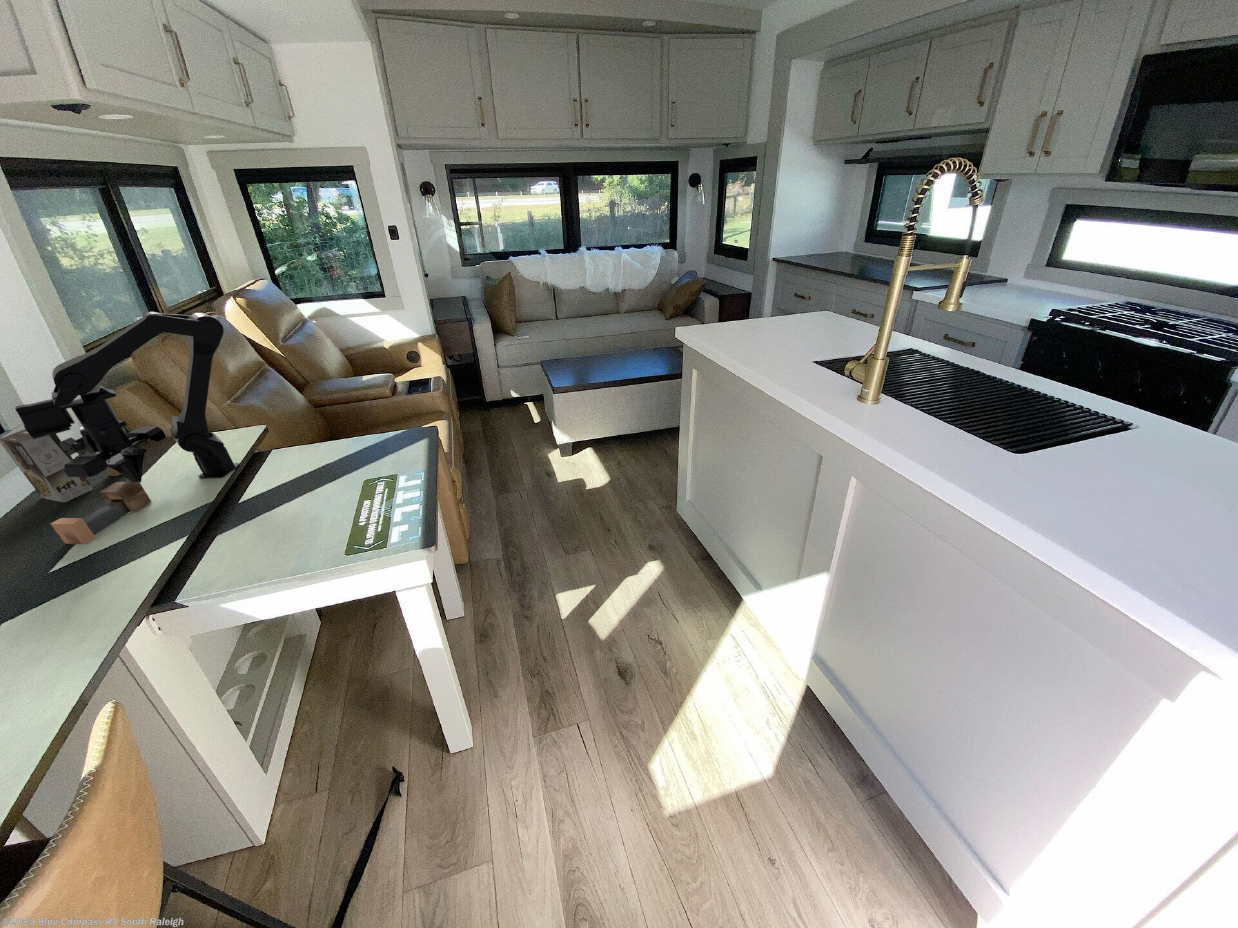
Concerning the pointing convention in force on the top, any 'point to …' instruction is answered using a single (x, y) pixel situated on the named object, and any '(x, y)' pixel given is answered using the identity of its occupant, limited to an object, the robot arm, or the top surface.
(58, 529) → the pink notched end block
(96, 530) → the rail
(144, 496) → the block
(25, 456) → the coffee box
